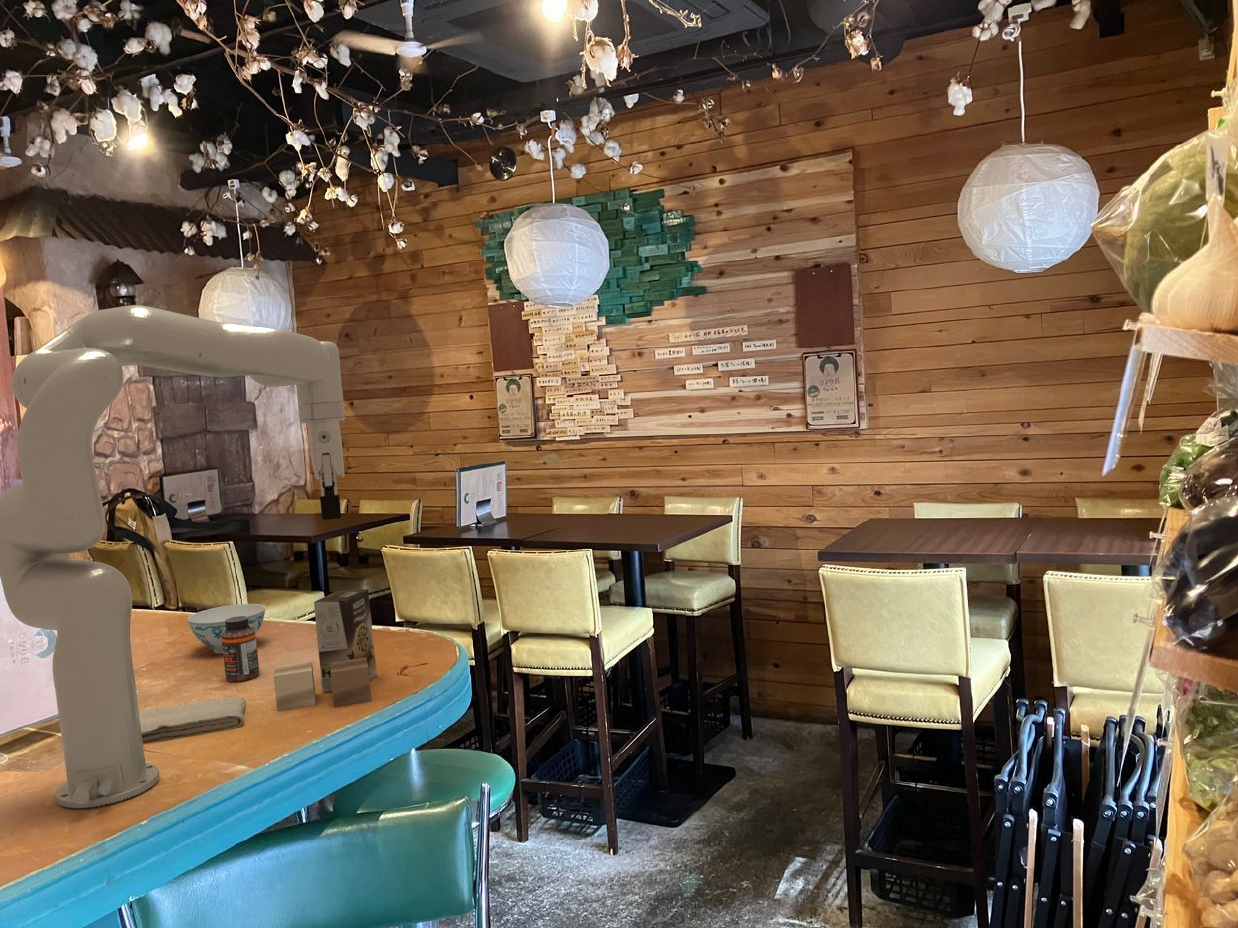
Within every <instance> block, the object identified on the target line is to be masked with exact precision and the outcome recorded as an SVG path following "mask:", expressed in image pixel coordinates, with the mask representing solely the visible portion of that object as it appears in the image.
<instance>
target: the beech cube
mask: <svg viewBox="0 0 1238 928" xmlns="http://www.w3.org/2000/svg"><path fill="white" fill-rule="evenodd" d="M273 682H274V683H273V684H274V692H275V699H276V700H275V702H276V709H277V712H280V710H281V711H286V709H288V710H293V709H292V708H294V709H298V708H299V709H300V708H306V707H310V706H316V698H317V697H316V696H317V695H316V685H315V677H314V667H313V661H312V660H310V661H303V662H298V663H297V662H296V663H290V664H283V665H282V664H281V665H277V666H275V667H274V673H273Z"/></svg>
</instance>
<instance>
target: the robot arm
mask: <svg viewBox="0 0 1238 928" xmlns="http://www.w3.org/2000/svg"><path fill="white" fill-rule="evenodd" d="M129 366H141V367H148V368H154V369H160V370H168V371H175V372H181V373H186V374H191V375H194V376H195V375H197V376H201V377H212V378H213V377H219V378H226V377H227V378H228V377H229V378H230V377H231V378H233V377H243V376H245V377H246V376H247V377H248V376H249V377H250V378H251V379H252V380H253V381H254V382H255V383H257V384H259V385H261V386H265V387H269V388H276V387H289V386H296V396H297V406H298V407H297V408H298V409H297V410H298V416H299V417H298V418H299V419H298V420H299V424H300V425H301V424H307V425H306V426H307V434H308V442H309V451H310V452H309V453H310V457H311V465H312V469H313V473H314V478H315V480H318V481H319V485H320V495H321V496H319V500H320V501H319V503H320V511H321V519H322V520H323V521H327V520H336V519H341V518H342V510H341V500H340V499H341V498H340V494H338V493H339V491H338V484H337V480H338V479H337V476H340V478H341V479H343V478H344V477H345V464H344V454H343V452H344V451H343V443H342V442H343V441H342V433H341V428H340V421H345V419H346V417H345V407H344V406H345V405H344V396H343V386H342V385H343V384H342V372H341V361H340V351H339V346H338V345H337V343H335V342H333V341H326V340H324V341H323V340H318V339H316V338H314V337H312V336H309V335H304V334H302V333H301V334H300V333H296V332H291V331H288V330H283V329H277V328H270V327H261V326H254V325H253V326H251V325H245V324H240V323H239V324H238V323H232V322H231V323H230V322H223V321H215V320H210V319H205V318H200V317H196V316H192V315H187V314H183V313H178V312H174V311H171V310H166V309H161V308H156V307H154V306H153V307H152V306H147V305H142V304H141V305H136V304H132V305H124V306H123V305H122V306H118V307H111V308H106V309H100V310H96V311H93V312H91V313H88V314H87V315H85V316H83V317H82V318H80V319H79V320H77V321H76V322H74V323H72V324H71V325H70V326H68V327H66V328H65V329H64V330H62V331H61V332H60V333H58V334H57V335H55V336H54V337H53V338H51V339H50V340H47V341H46V342H45V343H44V344H42V345H40V346H39V347H38V348H36V349H34V350H33V351H32V352H30V353H29V354H27V355H26V356H25V357H24V358H23V359H22V360H21V361H20V362H19V363H18V364H17V366H15V369H14V371H13V375H12V378H11V389H12V392H13V395H14V397H15V398H16V400H17V402H19V403H20V404H21V406H22V407H23V408H25V409H26V410H25V411H24V414H23V417H22V419H21V421H20V425H19V427H18V433H17V440H16V442H17V455H18V462H19V471H20V476H21V484H18V485H15V486H12V487H10V488H9V489H7V490H6V491H4V492H3V494H2V495H0V582H1V586H2V590H3V594H4V597H5V601H6V603H7V606H8V608H9V610H10V612H11V614H12V615H13V616H14V618H16V619H17V620H18V621H20V623H22V624H24V625H26V626H29V627H31V628H35V629H41V630H42V629H43V630H52V631H56V633H57V634H56V641H55V646H54V650H53V653H52V654H53V655H52V664H51V665H52V679H53V686H54V689H55V690H54V691H55V698H56V705H57V707H56V708H57V712H58V714H57V715H58V720H59V728H60V736H61V744H62V750H63V758H64V765H65V773H66V779H67V781H66V782H64V783H63V784H62V785H61V786H60V787H58V789H57V790H56V792H55V798H56V803H57V804H58V805H59V806H61V807H65V808H68V809H69V808H70V809H88V808H89V807H90V808H96V806H97V807H102V806H101V805H103V806H106V805H105V804H108V805H110V803H111V804H115V803H118V801H119V802H121V801H124V799H125V800H127V798H128V799H130V798H133V797H136V796H137V795H139V794H143V793H144V792H145V791H147V790H149V789H151V788H152V787H153V786H155V785H156V784H157V782H158V781H159V779H160V776H161V775H160V769H159V767H158V766H157V765H155V764H153V763H149V762H146V757H145V749H144V743H143V739H142V731H141V723H140V716H139V711H140V710H139V709H140V708H139V701H138V694H137V693H138V692H137V687H136V685H137V684H136V679H135V678H136V677H135V670H134V664H133V663H134V661H133V654H132V642H131V624H132V623H131V621H132V609H133V595H132V588H131V585H130V583H129V580H128V579H127V577H125V575H124V574H123V573H122V572H121V571H120V570H119V569H117V568H116V567H114V566H112V565H110V564H107V563H104V562H101V561H95V560H79V559H77V560H76V559H71V555H70V554H73V553H74V554H75V553H80V552H84V551H87V550H90V549H92V548H93V547H95V546H96V545H97V544H98V543H100V541H101V540H102V538H103V536H104V534H105V529H106V517H105V511H104V506H103V500H102V499H103V498H102V494H101V491H100V487H99V486H100V484H99V481H98V476H97V472H96V467H95V466H96V465H95V462H94V454H93V453H94V452H93V437H94V435H93V434H94V432H95V430H96V429H95V428H96V426H97V424H98V422H99V419H100V418H101V417H102V415H103V414H104V412H105V411H107V409H108V408H109V407H110V406H111V404H113V403H114V401H115V400H116V399H117V398H118V396H119V395H120V394H121V391H122V388H123V385H124V371H123V367H129ZM132 796H133V797H132ZM90 808H89V809H90Z"/></svg>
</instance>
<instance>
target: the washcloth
mask: <svg viewBox="0 0 1238 928" xmlns="http://www.w3.org/2000/svg"><path fill="white" fill-rule="evenodd" d="M246 703H247V702H246V700H245V698H244V697H241V696H231V697H230V696H229V697H224V698H222V697H221V698H218V699H207V700H206V699H205V700H199V701H194V702H188V703H183V704H182V703H181V704H174V705H170V706H169V705H168V706H163V707H162V706H161V707H156V708H150V709H143V710H139V716H140V723H141V731H142V739H143V744H145V742H147V743H148V742H149V743H154V742H159V741H166V740H172V739H177V738H184V737H189V736H196V735H197V736H198V735H202V734H209V733H214V732H220V731H221V732H222V731H226V730H232V729H237V728H239V727H240V726H242V725H243V723H244V721H245V716H244V714H245V711H246Z"/></svg>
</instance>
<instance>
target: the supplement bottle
mask: <svg viewBox="0 0 1238 928" xmlns="http://www.w3.org/2000/svg"><path fill="white" fill-rule="evenodd" d="M248 624H249V622H248V617H247V616H237V617H232V618H228V619H226V620H225V627H226V629H225V631H224V632H223V633H222V635H221V639H222V648H223V654H222V655H223V665H224V675H225V679H226V680H227V681H228V682H231V683H232V682H233V683H239V682H245V681H249V680H252V679H255V678H256V677H258V676H259V674H260V664H259V655H258V647H257V646H258V645H257V637H256V635H255V630H254V629H253V628H252V627H250V626H249V625H248Z"/></svg>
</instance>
